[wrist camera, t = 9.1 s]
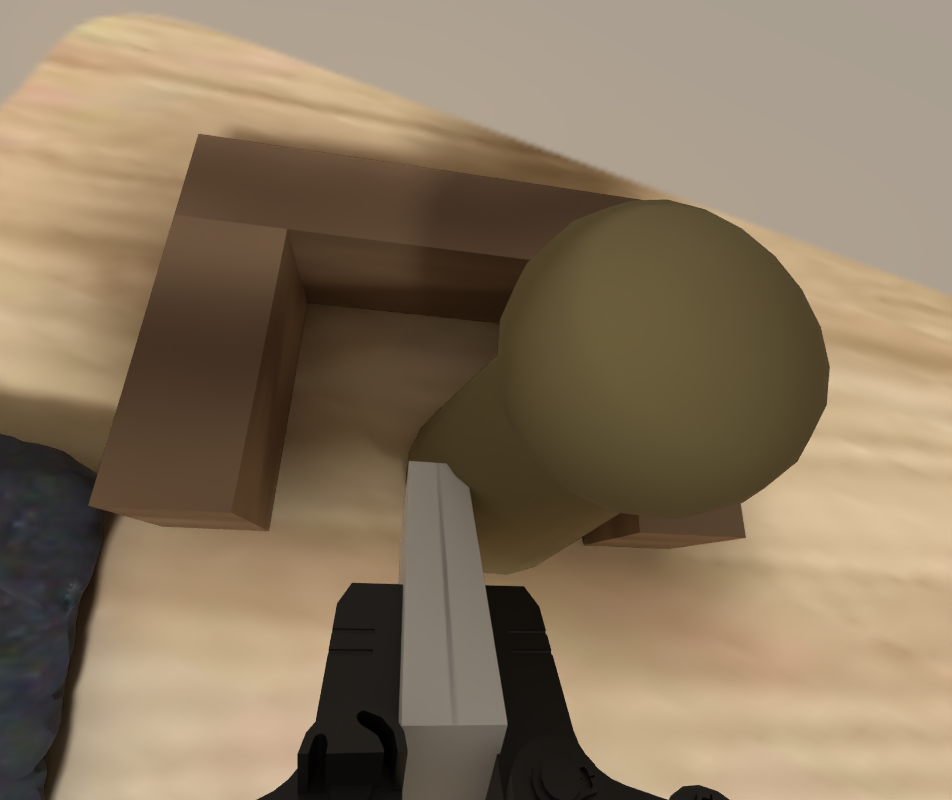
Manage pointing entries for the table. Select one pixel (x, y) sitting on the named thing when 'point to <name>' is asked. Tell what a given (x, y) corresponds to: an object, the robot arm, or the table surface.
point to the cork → (632, 382)
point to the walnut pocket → (283, 312)
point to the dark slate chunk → (39, 600)
